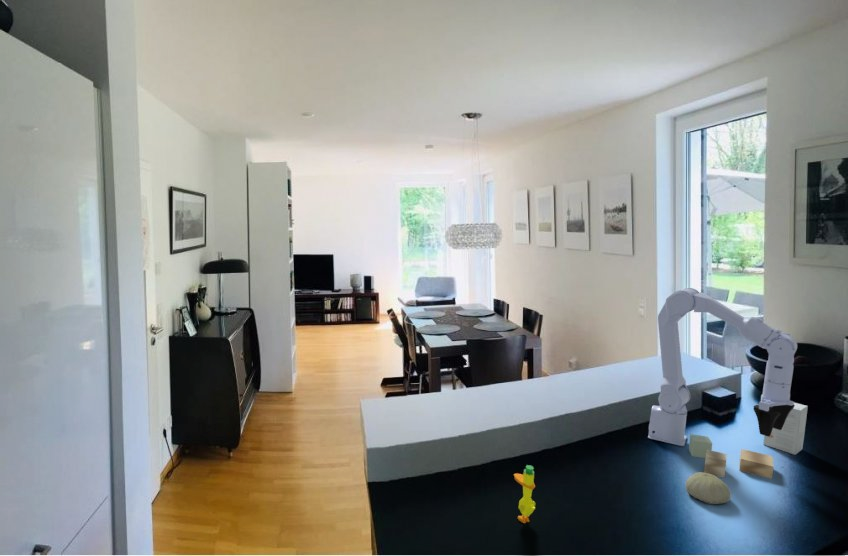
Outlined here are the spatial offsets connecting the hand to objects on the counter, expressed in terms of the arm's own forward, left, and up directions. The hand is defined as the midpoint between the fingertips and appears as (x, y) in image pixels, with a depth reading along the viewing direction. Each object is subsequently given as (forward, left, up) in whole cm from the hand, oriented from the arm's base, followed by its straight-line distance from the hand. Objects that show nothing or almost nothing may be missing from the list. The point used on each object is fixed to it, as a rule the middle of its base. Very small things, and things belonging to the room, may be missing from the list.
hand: (770, 431), depth 135 cm
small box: (+5, +18, -10) cm, 21 cm away
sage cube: (-15, -2, -10) cm, 18 cm away
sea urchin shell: (-12, -26, -10) cm, 30 cm away
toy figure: (-44, -60, -10) cm, 75 cm away
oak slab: (-2, -3, -10) cm, 11 cm away
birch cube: (-11, -11, -10) cm, 19 cm away
